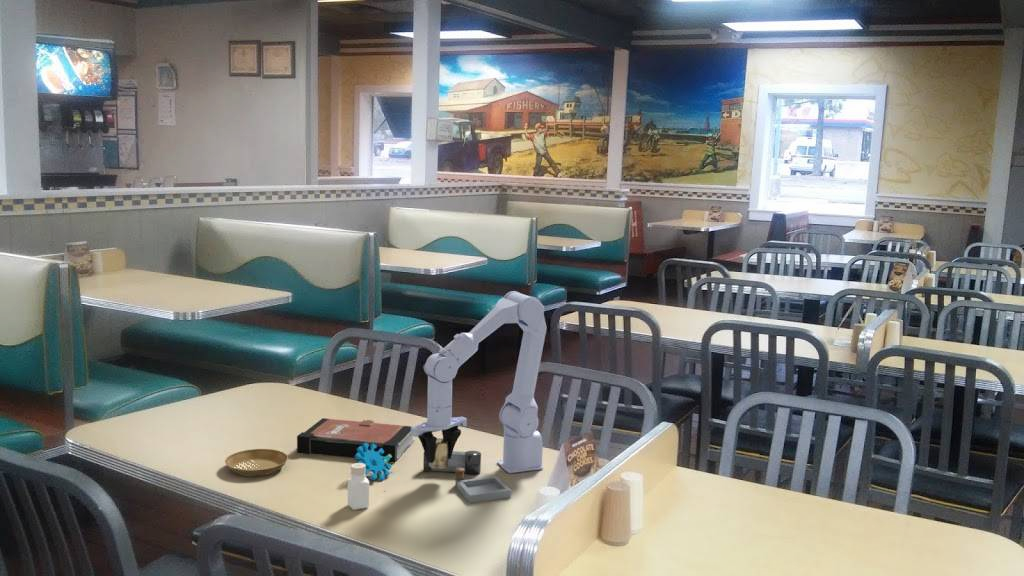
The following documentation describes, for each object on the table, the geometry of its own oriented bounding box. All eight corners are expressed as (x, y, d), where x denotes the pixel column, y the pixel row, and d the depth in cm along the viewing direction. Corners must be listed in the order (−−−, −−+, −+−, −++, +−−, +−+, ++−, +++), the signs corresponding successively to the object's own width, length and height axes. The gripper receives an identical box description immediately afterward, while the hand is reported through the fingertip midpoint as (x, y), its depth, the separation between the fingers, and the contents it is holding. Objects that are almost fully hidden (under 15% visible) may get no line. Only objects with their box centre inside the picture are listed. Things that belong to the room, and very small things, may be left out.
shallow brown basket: (269, 454, 224) (269, 444, 224) (299, 470, 214) (299, 460, 214) (214, 467, 214) (214, 457, 214) (243, 485, 204) (243, 474, 203)
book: (415, 441, 237) (415, 424, 237) (395, 464, 221) (395, 445, 220) (323, 433, 242) (323, 415, 241) (297, 454, 225) (297, 436, 224)
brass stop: (444, 461, 212) (444, 437, 211) (450, 467, 208) (450, 443, 207) (427, 463, 210) (427, 439, 209) (432, 469, 206) (433, 445, 205)
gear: (369, 480, 204) (351, 443, 208) (355, 493, 207) (338, 456, 211) (402, 473, 213) (385, 438, 217) (388, 486, 216) (371, 451, 220)
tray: (496, 483, 210) (496, 475, 209) (510, 497, 201) (511, 490, 201) (456, 488, 206) (456, 480, 205) (470, 503, 198) (470, 495, 197)
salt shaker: (352, 511, 191) (352, 469, 190) (346, 504, 195) (346, 463, 193) (369, 508, 193) (370, 467, 192) (364, 501, 197) (364, 461, 195)
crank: (481, 468, 218) (481, 450, 217) (479, 474, 214) (480, 456, 213) (424, 466, 218) (425, 448, 217) (422, 472, 214) (423, 454, 214)
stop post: (462, 483, 209) (462, 467, 208) (465, 486, 207) (465, 470, 206) (453, 484, 208) (454, 468, 207) (456, 487, 206) (457, 471, 205)
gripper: (455, 395, 214) (454, 448, 217) (404, 405, 205) (403, 460, 208) (472, 403, 209) (471, 457, 211) (420, 413, 200) (419, 469, 202)
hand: (438, 459), depth 209 cm, fingers closed on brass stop, 4 cm apart
